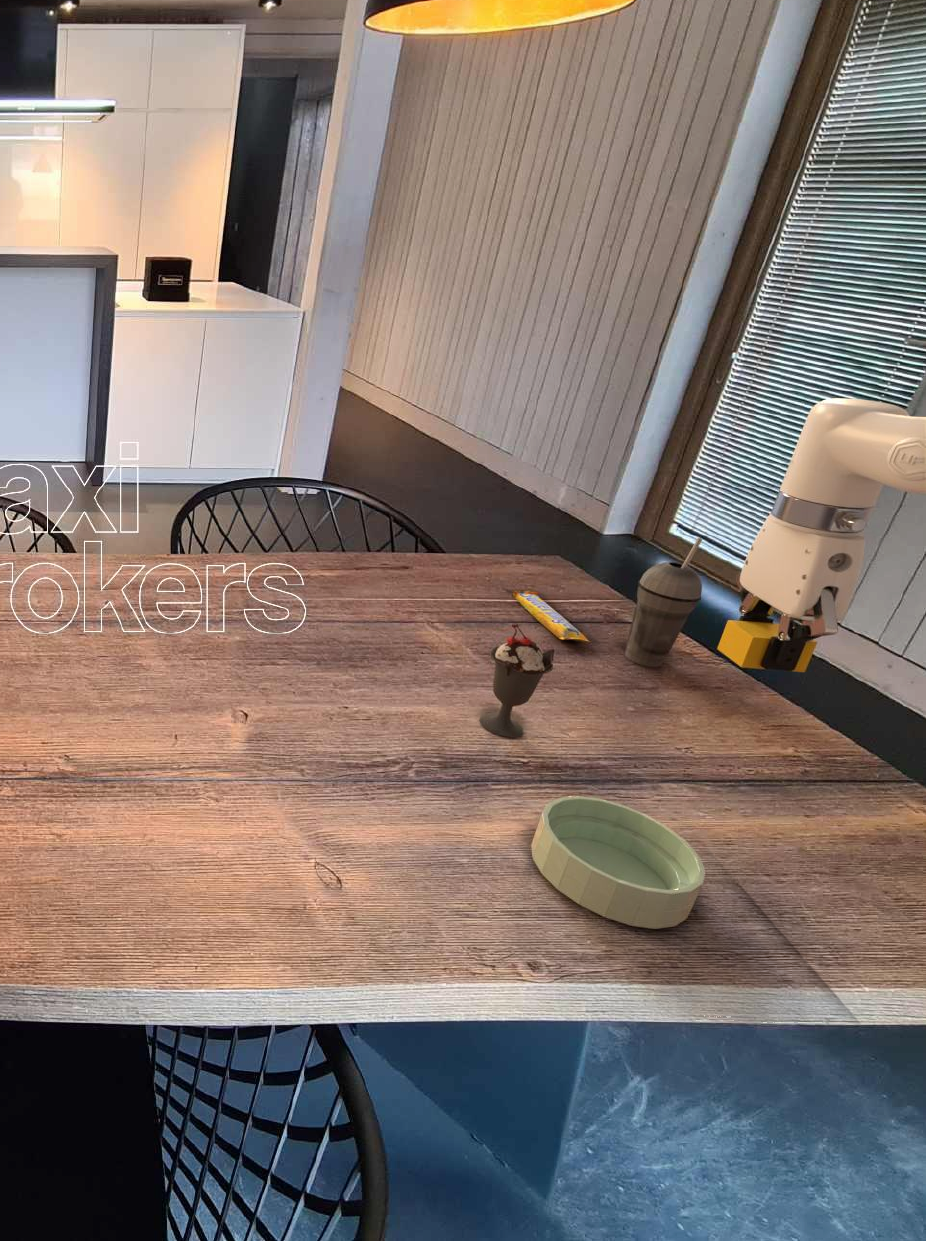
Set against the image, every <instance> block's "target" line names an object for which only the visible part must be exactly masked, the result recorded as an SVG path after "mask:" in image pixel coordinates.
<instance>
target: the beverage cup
mask: <svg viewBox="0 0 926 1241" xmlns="http://www.w3.org/2000/svg"><path fill="white" fill-rule="evenodd" d="M702 541H703V538H701V537H698V538H697V539H696V540H695V542H694V544H693V546H692V548H691V550H690V551H689V553H688V555H687V556H686V558H685V560H684V562H683V563H680V562H675V561H667V562H660V563H658V564H656V565H653V566H651V567H650V568H648V569H647V570H646V571H645V572H644V573H643V575H642V576H641V578H640V579H639V580H638V582H637V585H638V587H637V591H636V592H637V594H636V598H637V600H636V604H635V608H634V612H633V616H632V620H631V625H630V629H629V632H628V637H627V642H626V648H625V652H624V656H625V658H627V659H628V660H629V661H631V662H633V663H635V664H637V665H641V666H644V667H650V668H659V667H661V666H663V663H664V661H665V660H666V658H668V656H669V653H670V652H671V650H672V648H673V646H674V645H675V643H676V641H677V638H678V637H679V635H680V633H681V631H682V629H683V627H684V625H685V623H686V622H687V620H688V618H689V615H690V614H691V612H693V611H694V610H695V608H696V606H698V604H699V601H701V600H702V592H703V584H702V580H701V577H700V576H699V574H698V573H697V572H696V571H695V570H694V569H693V568H692V567H690V566H689V564H690V562H691V560H692V558H693V557H694V555H695V553H696V552H697V550H698V548H699V546H700V545H701V543H702Z"/></svg>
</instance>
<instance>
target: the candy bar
mask: <svg viewBox="0 0 926 1241" xmlns="http://www.w3.org/2000/svg"><path fill="white" fill-rule="evenodd" d="M512 594H513V597H514V598H515V600H516V601H517V602H518V603H519V604H520V605H521V606H522V607H523V608H524V609H525V610H526V611H527V612H528V613H529V614H530V615H531V616H532V617H534V618H535V619H536V620H537V621H538V622H539V623H540V624H541V625H543V627H545V628H546V629H547V630H548V631H550V632H551V633H552V634H553V635H554V636H555V637H557V638H558V639H559V640H562V641H564V640H565V641H567V640H568V641H569V640H570V641H582V642H584V643H585V642H586V643H592V641H591V640H590V641H589V639H588V638H587V637H585V635H584V634H583V633H582V632H581V631H579V630H578V629H577V628H576V627H575V626H573V625H572V624H571V623H570V622H569V621H568V620H567V619H565V617H563V616H562V615H561V614H560V613H558V612H557V611H556V610H555V609H554V608H552V607H551V606H550V605H549V604H548V603H547V602H545V601H544V600H543V599H541V598H540V597H539V592H537V591H531V590H524V591H523V593H521V590H515V591H513V593H512Z"/></svg>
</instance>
